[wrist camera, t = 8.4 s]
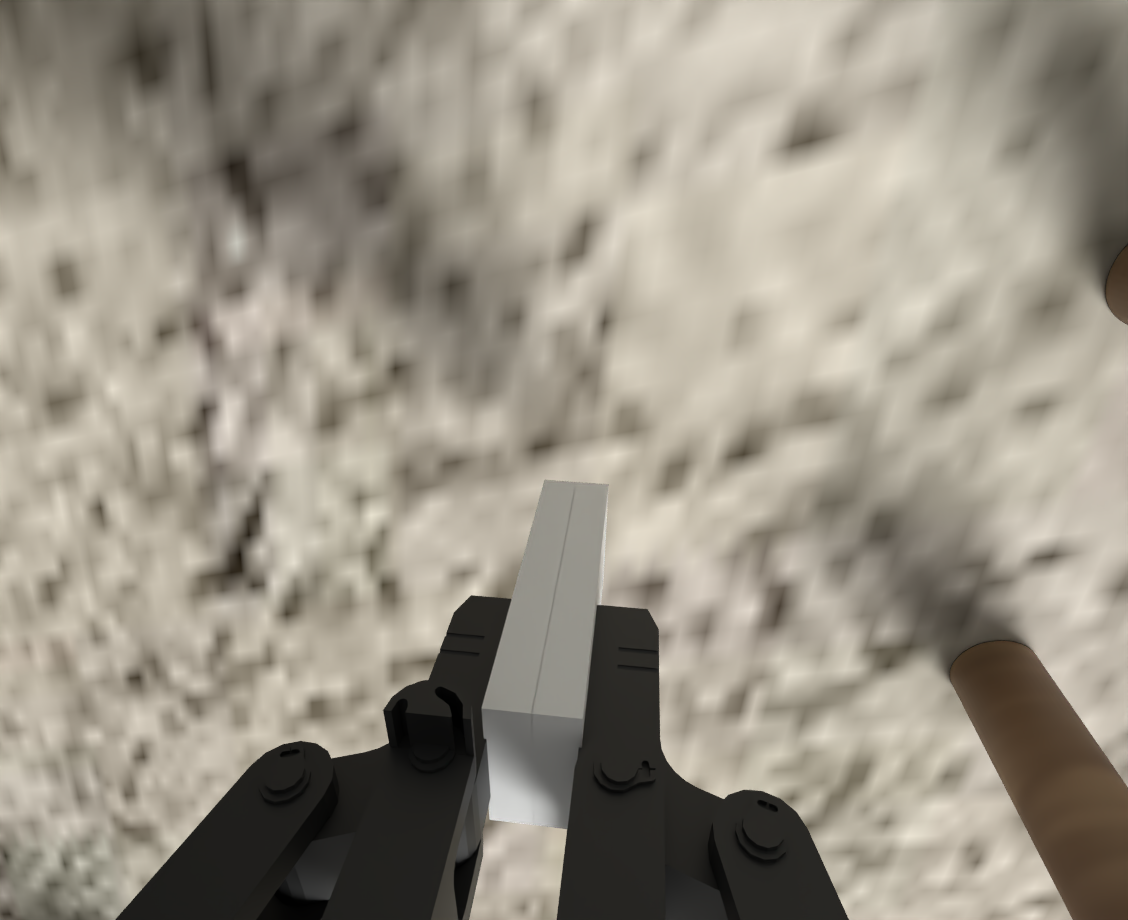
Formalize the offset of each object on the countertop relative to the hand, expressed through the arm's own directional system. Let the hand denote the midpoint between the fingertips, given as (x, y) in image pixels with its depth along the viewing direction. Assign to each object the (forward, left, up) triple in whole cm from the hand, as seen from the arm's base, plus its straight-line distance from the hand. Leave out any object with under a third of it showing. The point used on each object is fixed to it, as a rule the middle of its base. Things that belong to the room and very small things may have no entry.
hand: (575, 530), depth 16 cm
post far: (+7, +13, -4) cm, 15 cm away
